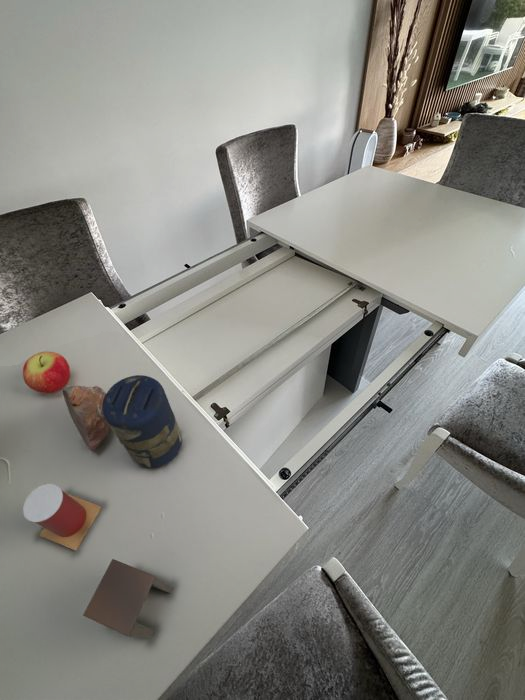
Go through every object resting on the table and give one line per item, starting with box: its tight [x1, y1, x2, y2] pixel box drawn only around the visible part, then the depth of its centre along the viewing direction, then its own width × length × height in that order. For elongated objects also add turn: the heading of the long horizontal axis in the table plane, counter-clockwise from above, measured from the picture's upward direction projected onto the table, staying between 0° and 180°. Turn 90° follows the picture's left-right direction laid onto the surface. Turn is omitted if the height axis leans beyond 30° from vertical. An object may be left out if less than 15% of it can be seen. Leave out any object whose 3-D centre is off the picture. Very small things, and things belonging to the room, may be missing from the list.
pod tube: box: [22, 483, 86, 537], centre depth 53 cm, size 5×5×9 cm
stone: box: [62, 385, 110, 452], centre depth 65 cm, size 13×8×10 cm
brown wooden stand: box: [82, 558, 173, 639], centre depth 45 cm, size 6×6×11 cm
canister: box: [102, 374, 183, 469], centre depth 58 cm, size 10×10×18 cm
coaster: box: [38, 493, 103, 552], centre depth 57 cm, size 7×7×1 cm
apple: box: [22, 350, 71, 394], centre depth 71 cm, size 8×8×10 cm
